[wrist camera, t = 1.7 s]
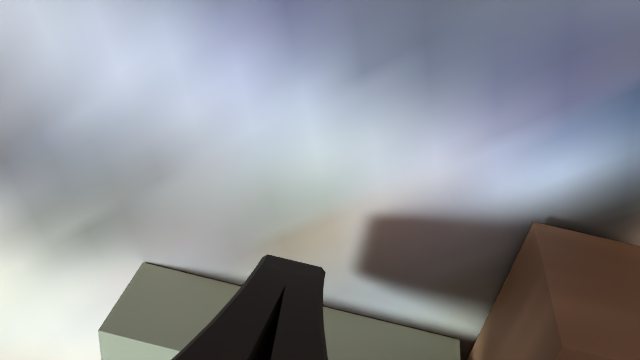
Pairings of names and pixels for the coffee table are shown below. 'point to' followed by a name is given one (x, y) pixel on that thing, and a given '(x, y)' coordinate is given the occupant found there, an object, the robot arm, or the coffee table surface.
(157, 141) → the coffee table surface
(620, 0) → the coffee table surface
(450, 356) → the stool seat
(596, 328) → the folding leg
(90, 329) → the coffee table surface
